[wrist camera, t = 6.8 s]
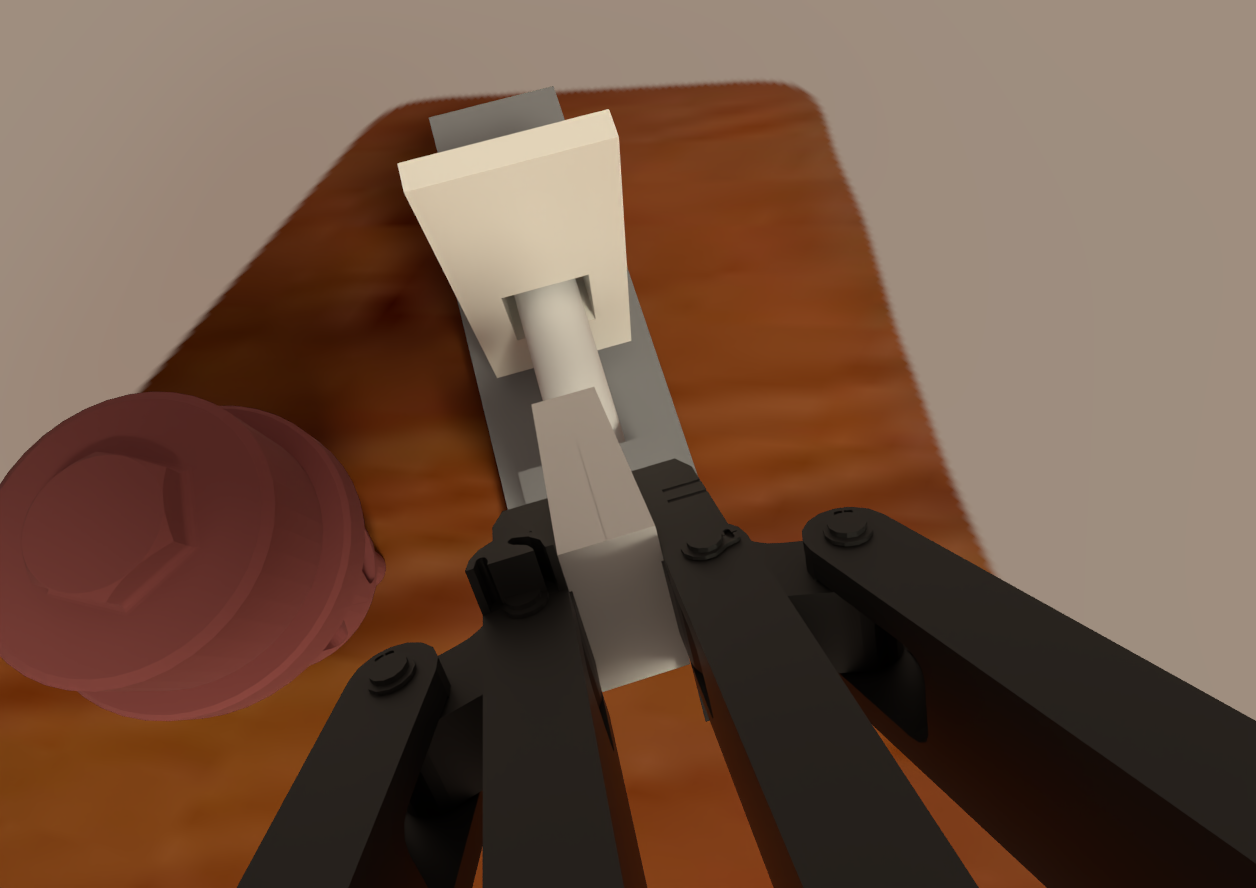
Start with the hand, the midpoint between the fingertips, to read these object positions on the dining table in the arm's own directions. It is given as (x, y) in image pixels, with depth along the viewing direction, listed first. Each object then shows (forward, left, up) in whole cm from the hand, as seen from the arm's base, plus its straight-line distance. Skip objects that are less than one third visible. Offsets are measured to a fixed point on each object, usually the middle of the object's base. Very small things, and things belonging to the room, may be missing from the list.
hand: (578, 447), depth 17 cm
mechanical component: (-13, +2, -14) cm, 19 cm away
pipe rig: (0, +8, -14) cm, 16 cm away
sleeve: (0, +10, -12) cm, 16 cm away
